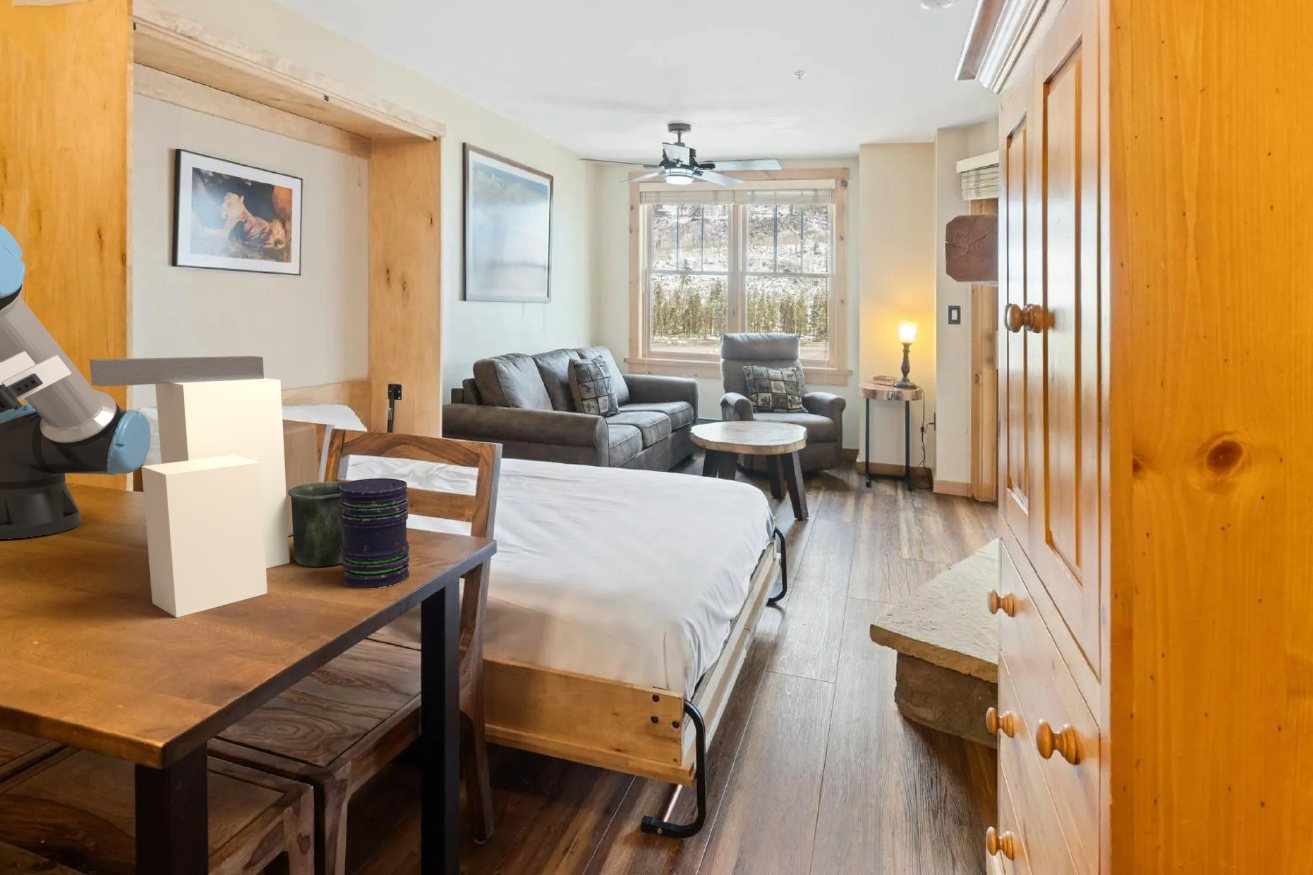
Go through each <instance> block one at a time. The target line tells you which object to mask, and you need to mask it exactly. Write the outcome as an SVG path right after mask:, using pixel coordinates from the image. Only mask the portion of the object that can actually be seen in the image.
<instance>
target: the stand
mask: <svg viewBox="0 0 1313 875" xmlns="http://www.w3.org/2000/svg"><path fill="white" fill-rule="evenodd" d="M281 381H282V380H281V379H274V378H267V377H264V379H254V380H233V381H211V382H189V383H167V384H154V386H155V395H156V396H155V397H156V398H155V399H156V410H157V411H156V412H157V422H158V423H157V424H158V437H159V438H158V439H159V449H160V450H159V451H160V462H161V463H160V464H164V463H173V462H181V461H189V460H198V459H206V458H214V457H222V456H231V455H235V456H239V457H242V458H246V459H250V460H253V461H257V462H260V472H261V490H262V507H263V525H264V543H265V561H266V569H270V568H273V567H278V566H282V565H283V566H284V565H287V564H290V563H291V562H290V561H291V560H290V559H291V558H290V542H289V540H290V539H289V536H288V519H287V499H286V480H285V460H284V440H283V407H282V406H283V405H282V387H281V386H282V384H281Z"/></svg>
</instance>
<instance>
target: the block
mask: <svg viewBox="0 0 1313 875" xmlns="http://www.w3.org/2000/svg"><path fill="white" fill-rule="evenodd" d="M282 421H283V420H282ZM283 440H284V460H285V480H286V499H287V519H288V537H290V536H293V524H292V505H291V496H289V495H288V491H289V490H290V489H292V488H294V487H297V486H300V485H305V484H311V483H319V482H320V478H319V476H320V475H319V458H318V457H319V456H318V455H319V454H318V433H317V425H316V424H314V423H311V422H300V421H299V422H297V421H285V420H284V421H283Z"/></svg>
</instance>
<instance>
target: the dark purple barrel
mask: <svg viewBox="0 0 1313 875" xmlns="http://www.w3.org/2000/svg"><path fill="white" fill-rule="evenodd" d="M345 482H346V483H343V484H342V485H340V493H341V495H340V501H341V502H340V511H341V516H340V519H341V523H342V524H343V538H344V545H343V546H342V551H341V553H342V564H341V566H342V573H343V575H344V576H343V584H344V585H345V586H346V585H347V587H348V586H350V587H349V588H351V587H353V588H352V589H356V588H379V587H383V586H389V585H394V584H397V583H401V582H402V581H405V580H406V579H407V578H408V579H409V578H410V571H409V567H410V561H411V560H410V559H411V558H410V543H409V541H408V539H407V538H408V537H407V536H408V533H407V530H408V529H407V520H408V517H409V510H408V507H409V499H408V491H407V489H408V483H407V482H406V481H405V480H402V479H397V478H389V477H388V478H386V477H381V478H379V477H376V478H362V479H355V480H350V481H345ZM408 579H407V580H408ZM407 580H406V581H407ZM406 581H405V582H406ZM401 584H402V583H401Z"/></svg>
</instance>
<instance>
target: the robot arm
mask: <svg viewBox="0 0 1313 875" xmlns="http://www.w3.org/2000/svg"><path fill="white" fill-rule="evenodd" d="M23 256H24V255H23V252H22V249H21V248H20V245H19V244H18V242H17V240H16V238H15V237H14V235H13V234H11V233H10V231H8V230H7V228H6V227H4V226H3V225H2V224H0V539H8V538H9V539H10V538H23V539H28V538H27V537H31V538H34V537H33V536H38V537H43V536H42V535H45V536H49V535H55V534H58V533H59V534H60V533H62V532H66V531H68V530H69V531H71V530H72V529H74V528H76V527H79V526H81V524H82V515H81V510H80V507H78V505H77V502H76V501H75V498H74V496H73V494H72V493H71V490H70V489H69V487H68V484H67V480H66V474H70V475H71V474H74V475H75V474H76V475H77V474H78V475H109V476H115V475H124V474H125V475H126V474H131V473H134V472H136V471H137V470H138V469H140V467H142V466H143V464H144V462H145V461H146V459H147V456H148V454H149V451H150V445H151V438H152V437H151V434H152V432H151V427H150V426H151V425H150V423H149V420H148V418H147V416H146V414H144V413H143V412H142V411H139V410H135V409H128V410H125V409H122V408H121V406H119V404H118V403H117V402H116V400H115V399H114V397H112V396H111V395H110V394H109V393H106V392H104V391H101V390H97V389H96V390H95V389H94V388H93V387H92V385H91V384H90V383H89V382H88V380H87V379H86V378H85V377H84V376H83V374H82V373H81V371H80V370H79V369H78V368H77V366H76V365H75V364H74V363H73V362H72V360H71V359H70V358H69V356H68V355H67V354H66V353H65V351H64V350H63V349H62V347H61V346H60V345H59V344H58V342H57V341H56V340H55V339H54V338H53V336H52V335H51V334H50V332H49V331H48V330H47V329H46V327H45V326H44V325H43V323H42V322H41V321H40V320H39V319H38V317H37V316H36V314H35V313H34V312H33V311H32V310H31V308H30V307H29V306H28V305H27V303H26V302H25V300H24V299H23V298H22V297H21V295H22V294H23V290H24V283H23V282H24V281H25V275H26V263H25V262H23V261H22V260H21V258H22V257H23ZM21 400H26V402H27V403H21V402H20V401H21ZM54 533H55V534H54ZM10 540H11V539H10Z"/></svg>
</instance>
